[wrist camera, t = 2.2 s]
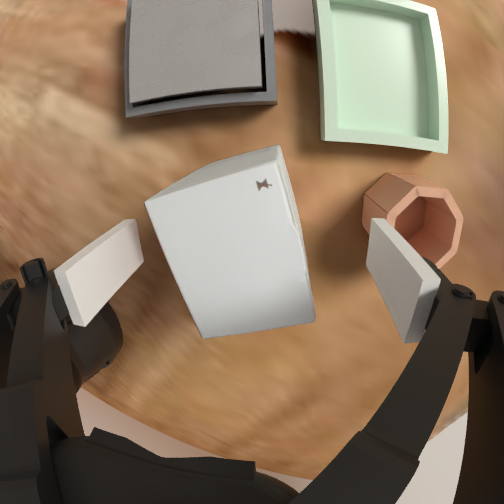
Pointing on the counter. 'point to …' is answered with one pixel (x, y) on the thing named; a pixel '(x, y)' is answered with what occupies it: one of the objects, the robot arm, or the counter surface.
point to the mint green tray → (381, 73)
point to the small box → (236, 245)
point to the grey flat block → (213, 100)
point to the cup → (416, 214)
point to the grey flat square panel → (193, 47)
